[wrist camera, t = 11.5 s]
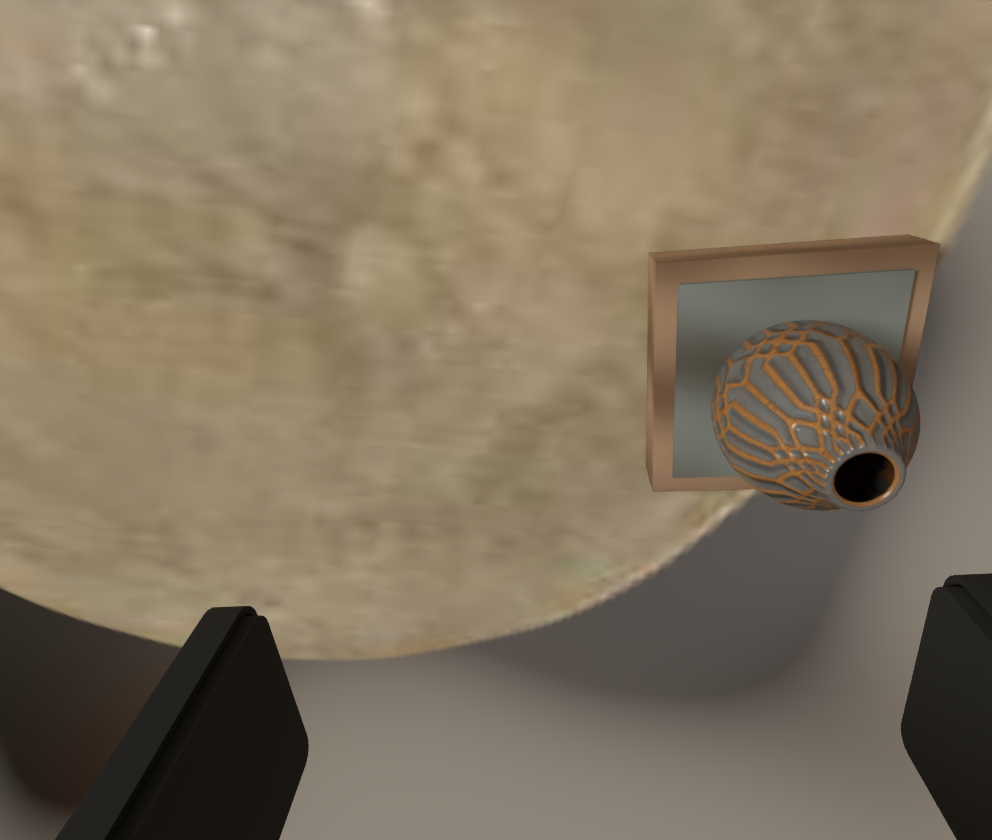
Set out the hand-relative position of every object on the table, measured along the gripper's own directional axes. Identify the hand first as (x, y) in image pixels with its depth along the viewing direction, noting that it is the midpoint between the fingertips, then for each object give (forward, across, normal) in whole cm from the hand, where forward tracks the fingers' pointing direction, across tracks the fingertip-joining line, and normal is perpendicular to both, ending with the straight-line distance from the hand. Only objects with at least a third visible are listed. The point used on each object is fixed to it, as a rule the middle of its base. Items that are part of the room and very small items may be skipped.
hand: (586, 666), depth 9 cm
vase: (+20, -9, +4) cm, 22 cm away
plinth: (+22, -10, +5) cm, 25 cm away
